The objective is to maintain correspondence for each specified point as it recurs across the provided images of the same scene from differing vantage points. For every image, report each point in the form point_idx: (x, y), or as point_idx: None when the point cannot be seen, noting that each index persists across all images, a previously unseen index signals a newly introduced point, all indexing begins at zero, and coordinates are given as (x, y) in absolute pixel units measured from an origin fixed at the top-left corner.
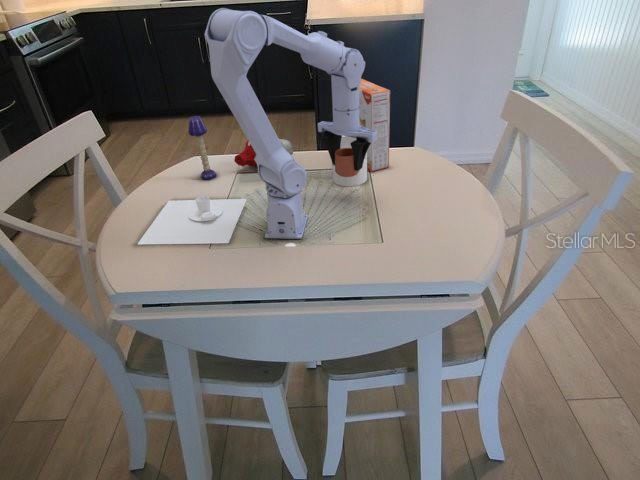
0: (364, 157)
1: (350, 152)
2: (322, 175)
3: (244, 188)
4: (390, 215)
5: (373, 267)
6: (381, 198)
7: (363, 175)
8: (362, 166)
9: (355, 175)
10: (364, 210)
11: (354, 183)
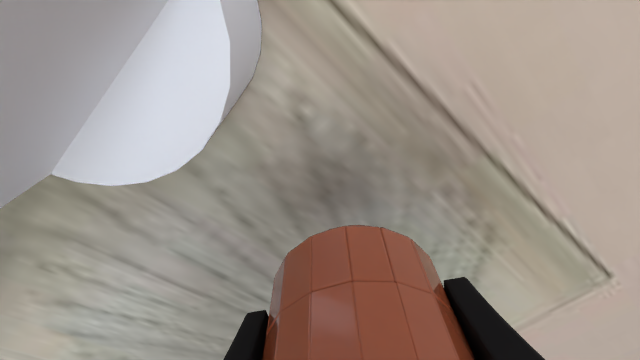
0: (528, 347)
1: (322, 344)
2: None
3: (28, 345)
4: (570, 157)
5: (627, 342)
6: (458, 72)
7: (250, 6)
8: (237, 23)
9: (244, 79)
10: (454, 196)
11: (251, 74)
